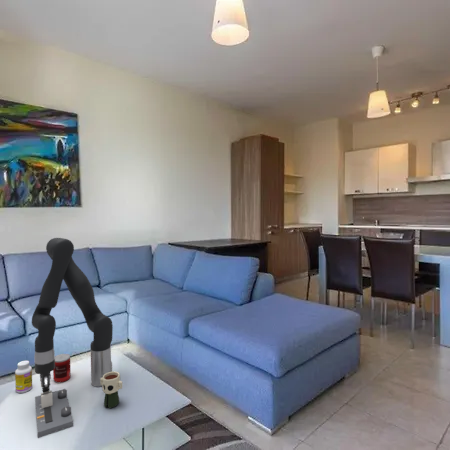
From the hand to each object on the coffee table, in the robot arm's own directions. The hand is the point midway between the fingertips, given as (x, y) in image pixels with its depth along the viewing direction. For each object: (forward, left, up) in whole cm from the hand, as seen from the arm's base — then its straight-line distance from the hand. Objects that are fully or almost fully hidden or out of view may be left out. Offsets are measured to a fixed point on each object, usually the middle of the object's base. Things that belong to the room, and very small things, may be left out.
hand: (46, 398), depth 139 cm
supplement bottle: (+8, -19, -3) cm, 20 cm away
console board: (-2, +7, -3) cm, 8 cm away
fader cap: (0, +5, 0) cm, 5 cm away
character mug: (-24, +14, -3) cm, 28 cm away
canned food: (-8, -20, -3) cm, 21 cm away
